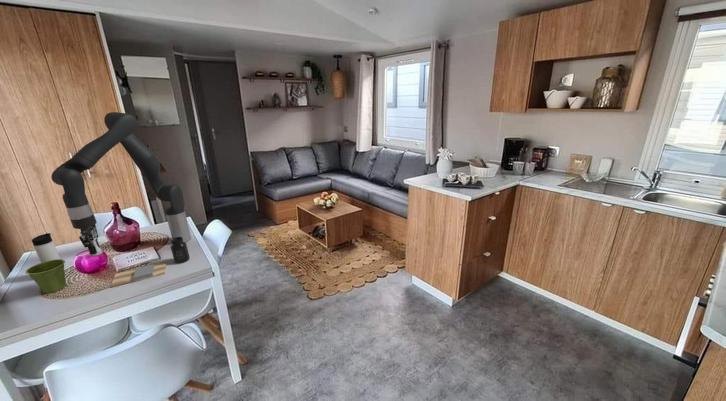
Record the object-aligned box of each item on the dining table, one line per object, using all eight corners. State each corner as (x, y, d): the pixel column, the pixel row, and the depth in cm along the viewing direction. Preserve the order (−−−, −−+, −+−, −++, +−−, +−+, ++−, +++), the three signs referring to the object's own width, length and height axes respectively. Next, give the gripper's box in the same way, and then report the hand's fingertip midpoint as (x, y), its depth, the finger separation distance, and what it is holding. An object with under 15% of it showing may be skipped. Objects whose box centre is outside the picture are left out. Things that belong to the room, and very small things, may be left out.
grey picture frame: (135, 268, 139) (133, 277, 132) (153, 264, 143) (151, 272, 135) (136, 271, 140) (134, 280, 132) (154, 266, 143) (152, 275, 136)
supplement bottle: (193, 256, 153) (187, 235, 149) (184, 263, 146) (178, 242, 142) (180, 256, 153) (175, 235, 149) (171, 263, 147) (165, 241, 143)
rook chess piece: (95, 252, 132) (88, 235, 130) (105, 251, 133) (99, 235, 130) (87, 257, 128) (80, 240, 125) (97, 256, 128) (91, 240, 126)
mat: (115, 274, 139) (115, 273, 138) (166, 262, 148) (165, 261, 148) (110, 288, 129) (110, 286, 128) (164, 274, 138) (164, 272, 138)
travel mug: (69, 271, 143) (54, 233, 136) (52, 278, 137) (35, 240, 131) (61, 269, 145) (45, 232, 138) (44, 276, 139) (27, 238, 133)
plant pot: (40, 300, 122) (29, 277, 118) (32, 291, 128) (21, 269, 124) (77, 285, 131) (68, 263, 128) (68, 277, 137) (59, 256, 134)
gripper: (75, 211, 128) (89, 246, 134) (63, 223, 117) (79, 261, 122) (97, 208, 132) (109, 242, 137) (88, 219, 120) (102, 256, 126)
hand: (95, 251), depth 130 cm, fingers closed on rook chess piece, 4 cm apart
